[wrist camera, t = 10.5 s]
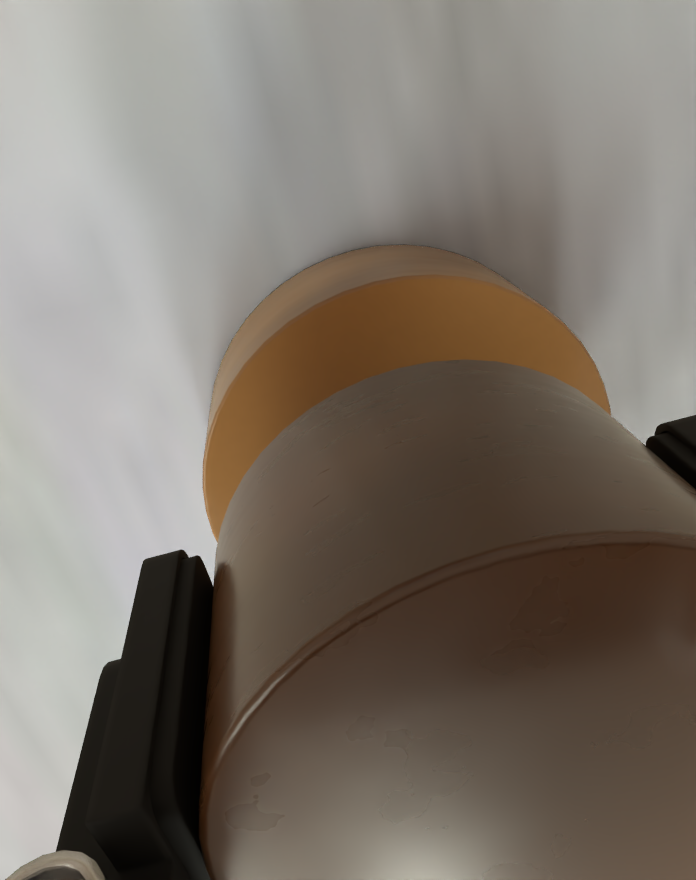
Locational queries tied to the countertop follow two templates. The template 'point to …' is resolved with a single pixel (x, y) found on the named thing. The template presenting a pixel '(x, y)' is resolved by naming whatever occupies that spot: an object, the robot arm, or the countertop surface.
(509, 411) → the brown round canister
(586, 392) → the oak chip
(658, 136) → the countertop surface
